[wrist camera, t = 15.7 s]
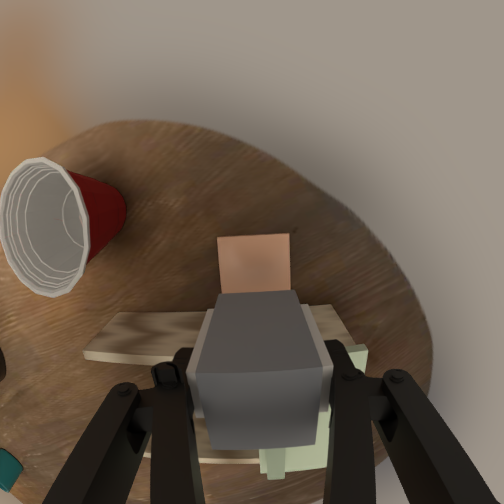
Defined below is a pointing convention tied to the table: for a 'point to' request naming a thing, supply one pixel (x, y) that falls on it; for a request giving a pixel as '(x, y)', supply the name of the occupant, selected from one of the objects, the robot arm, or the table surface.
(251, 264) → the terracotta coaster
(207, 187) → the table surface
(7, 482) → the cup
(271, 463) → the cover
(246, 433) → the slate block
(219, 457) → the wooden box
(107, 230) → the plastic cup
